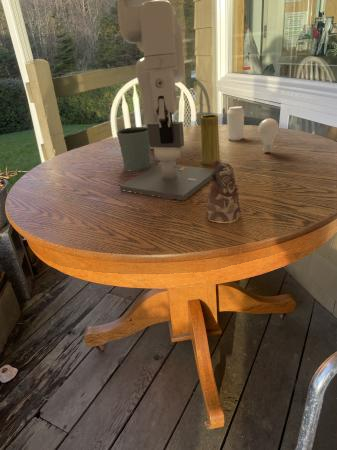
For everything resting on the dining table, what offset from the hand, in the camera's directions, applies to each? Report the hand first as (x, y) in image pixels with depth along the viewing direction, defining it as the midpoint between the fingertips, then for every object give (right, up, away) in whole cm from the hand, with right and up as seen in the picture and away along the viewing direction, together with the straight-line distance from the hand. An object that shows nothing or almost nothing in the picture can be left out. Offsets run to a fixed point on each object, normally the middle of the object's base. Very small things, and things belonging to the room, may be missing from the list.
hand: (167, 140), depth 85 cm
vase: (+14, -2, +19) cm, 23 cm away
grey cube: (0, -3, +3) cm, 5 cm away
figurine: (+12, -21, -15) cm, 28 cm away
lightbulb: (+33, +2, +22) cm, 40 cm away
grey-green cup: (-10, -3, +21) cm, 24 cm away
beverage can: (+26, +11, +41) cm, 50 cm away
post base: (+1, -10, +6) cm, 12 cm away
